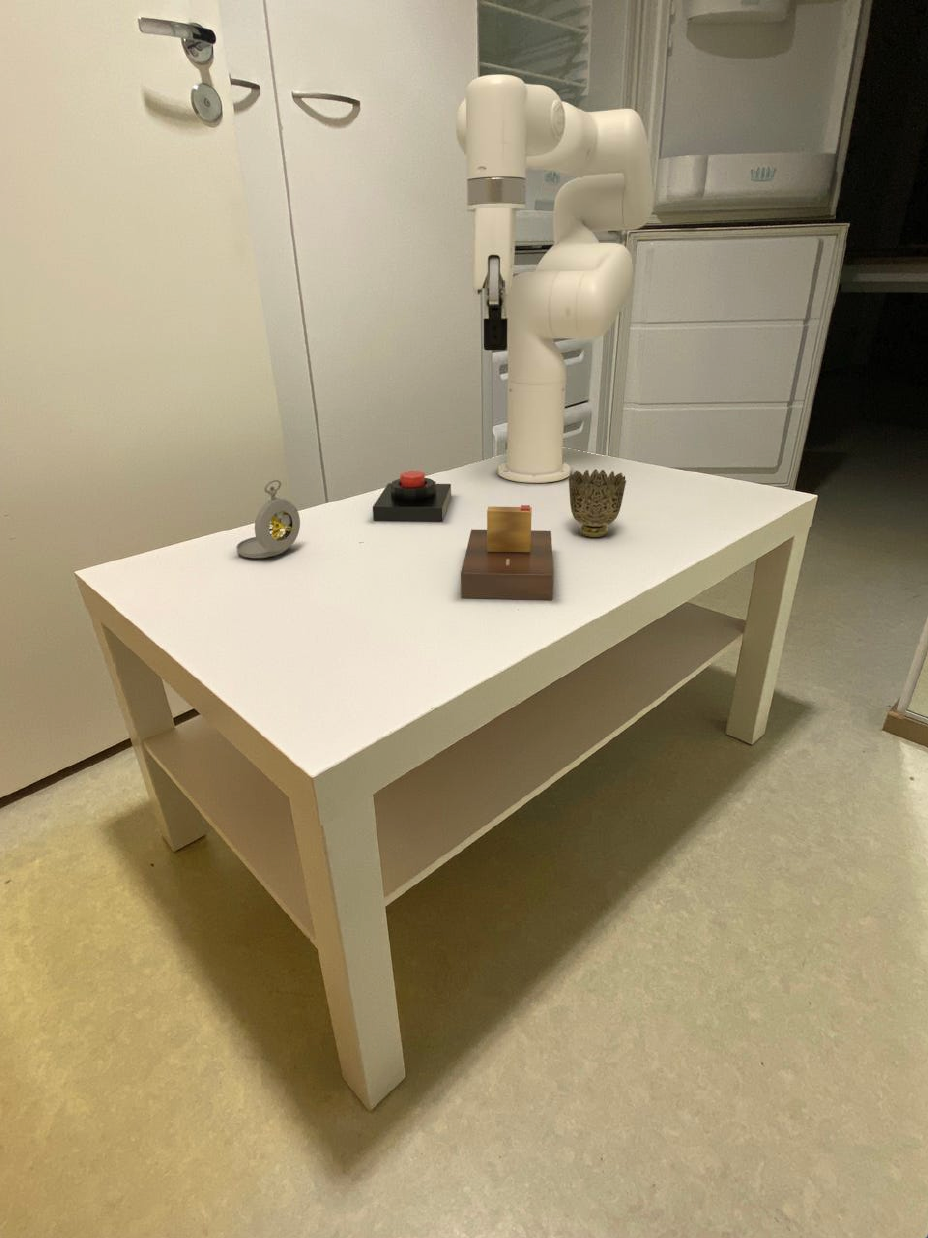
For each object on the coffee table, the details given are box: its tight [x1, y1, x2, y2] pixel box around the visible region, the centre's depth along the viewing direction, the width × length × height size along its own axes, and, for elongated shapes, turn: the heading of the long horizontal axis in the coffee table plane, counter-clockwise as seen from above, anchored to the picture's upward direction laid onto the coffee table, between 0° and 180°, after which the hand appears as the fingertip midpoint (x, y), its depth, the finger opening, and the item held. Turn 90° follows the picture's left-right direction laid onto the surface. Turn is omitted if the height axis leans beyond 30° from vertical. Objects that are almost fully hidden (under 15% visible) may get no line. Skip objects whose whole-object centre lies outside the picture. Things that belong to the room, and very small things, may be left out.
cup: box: [568, 469, 627, 538], centre depth 93 cm, size 8×7×8 cm
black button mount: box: [372, 477, 452, 523], centre depth 105 cm, size 12×10×4 cm
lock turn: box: [486, 504, 533, 553], centre depth 81 cm, size 5×2×5 cm, turn 84°
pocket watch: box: [235, 479, 301, 559], centre depth 88 cm, size 8×8×10 cm
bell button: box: [399, 470, 426, 487], centre depth 104 cm, size 4×4×2 cm
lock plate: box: [460, 529, 554, 601], centre depth 83 cm, size 14×10×3 cm
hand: (495, 349), depth 98 cm, fingers closed
